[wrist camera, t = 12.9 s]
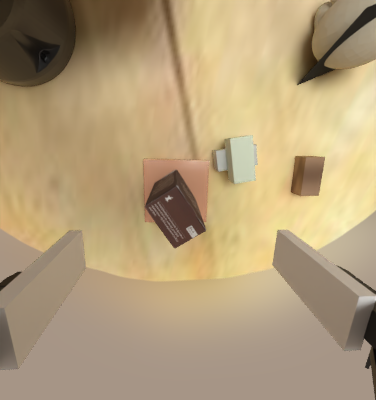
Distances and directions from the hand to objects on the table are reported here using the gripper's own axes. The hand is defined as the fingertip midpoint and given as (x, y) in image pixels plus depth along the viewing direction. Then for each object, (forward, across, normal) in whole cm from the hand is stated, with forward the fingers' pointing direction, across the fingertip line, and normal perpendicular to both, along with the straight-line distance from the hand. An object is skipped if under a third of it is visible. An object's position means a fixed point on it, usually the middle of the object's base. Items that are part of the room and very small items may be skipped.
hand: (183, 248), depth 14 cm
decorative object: (+21, +21, +21) cm, 37 cm away
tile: (+21, 0, -1) cm, 21 cm away
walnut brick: (+21, +21, +2) cm, 30 cm away
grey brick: (+21, +9, +5) cm, 23 cm away
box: (+20, 0, -1) cm, 20 cm away
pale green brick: (+18, +9, +5) cm, 21 cm away
